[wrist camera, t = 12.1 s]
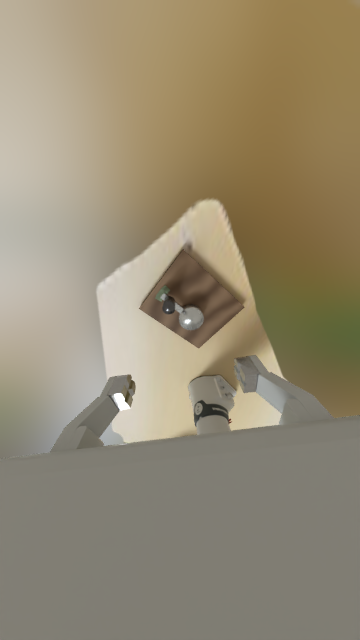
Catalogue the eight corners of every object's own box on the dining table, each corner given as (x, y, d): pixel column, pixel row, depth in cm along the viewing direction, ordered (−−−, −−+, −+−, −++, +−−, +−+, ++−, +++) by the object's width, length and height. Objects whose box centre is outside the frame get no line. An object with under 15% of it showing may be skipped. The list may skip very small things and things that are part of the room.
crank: (206, 313, 41) (212, 326, 35) (190, 328, 43) (193, 343, 37) (171, 283, 36) (169, 290, 30) (155, 301, 39) (151, 312, 32)
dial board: (242, 305, 42) (244, 307, 40) (198, 345, 49) (198, 348, 47) (182, 249, 34) (183, 249, 33) (140, 306, 41) (139, 308, 40)
